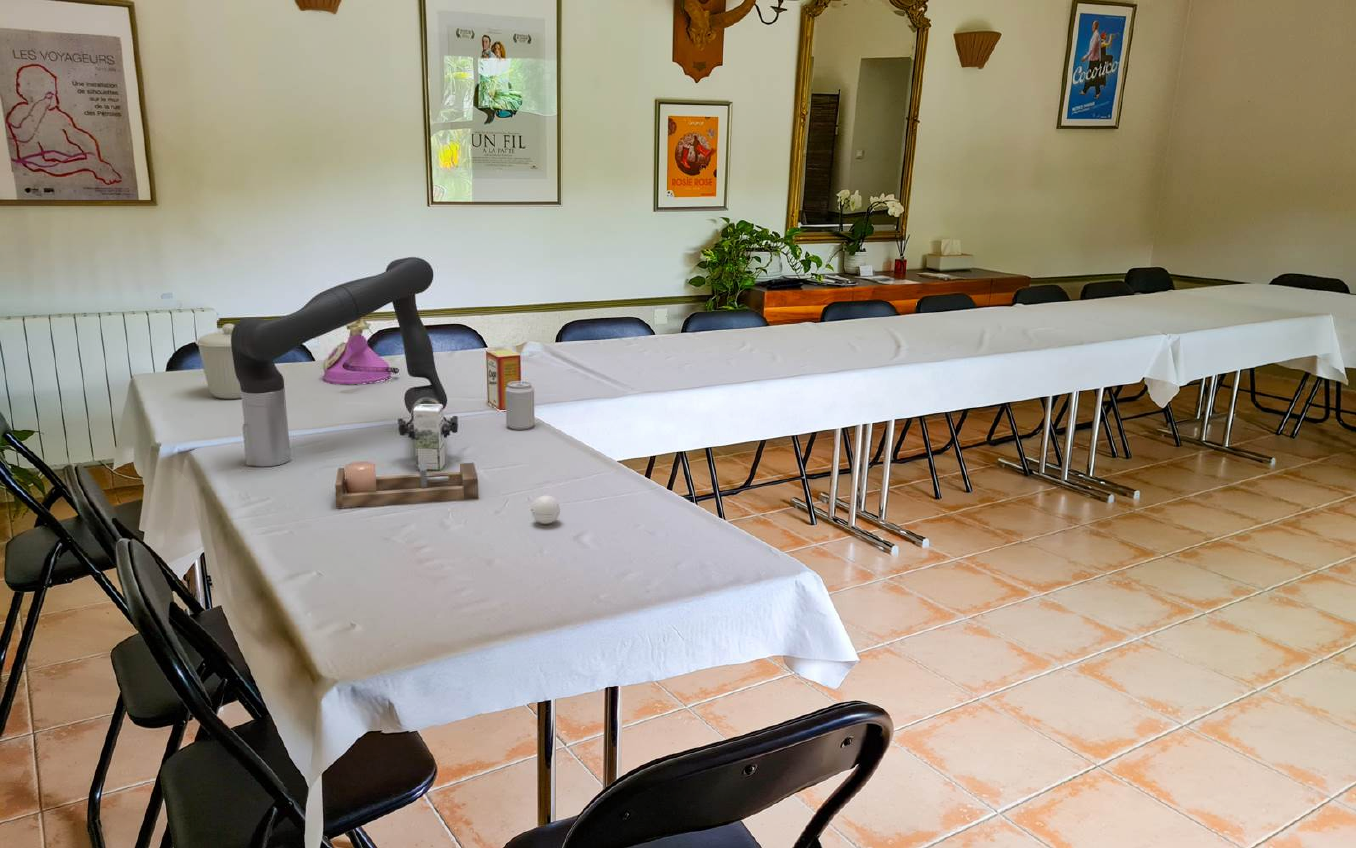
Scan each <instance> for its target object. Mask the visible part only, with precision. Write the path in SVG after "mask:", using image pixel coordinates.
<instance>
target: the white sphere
mask: <svg viewBox="0 0 1356 848" xmlns="http://www.w3.org/2000/svg"><path fill="white" fill-rule="evenodd" d="M530 511H531V517H533V519H534V520H535V521H537V522H538V523H539V524H544V525H549V524H553V523H554V522H555V521H556V520H558V518H559V516H560V514H561V513H560V512H561V506H560V504H559V501H558V500H557V499H556V498H555V497H554V496H550V495H547V494H546V495H541V496H539V497H537V498H536V499H535V500H534V501H533V503H532V505H531V509H530Z"/></svg>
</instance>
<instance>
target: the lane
mask: <svg viewBox="0 0 1356 848" xmlns="http://www.w3.org/2000/svg"><path fill="white" fill-rule="evenodd" d="M459 469H460V470H459V471H452V472H451V471H449V472H436V473H435V472H434V473H426V475H427V477H443V476H449V481H438V482H427V488H424V489H421V477H420V473H418V474H404V475H388V476H376V485H377V492H364V493H349V494H347V490H346V476H345V467H338V469H337V475H336V480H335V485H334V487H335V501H336V509H337V508H338V509H345V508H344V507H352V508H358V507H357V506H366V507H379V506H392V505H394V506H395V505H406V504H421V503H435V502H447V501H448V502H449V501H462V500H463V501H464V500H476V499H477V500H478V499H479V479H478V473H477V470H476V466H475V463H474V462H465V463H464V462H461V463H459ZM342 507H343V508H342Z"/></svg>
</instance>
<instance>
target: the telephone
mask: <svg viewBox="0 0 1356 848" xmlns="http://www.w3.org/2000/svg"><path fill="white" fill-rule="evenodd" d="M370 326H371V323H367V322H366V321H365V319H363V317H362V318H360V319H358V320H356V321H354V322H352V323H350V324H348V325H345V327H346V330H349V336H348V338H347V341H346V342H344V341H342V342H341V343H339V344H338V345H337V346H336V347H334V348H333V349H332V351H331V352H330V353H328V355H327V358H325V359H324V361H323V364H322V369H323V372H324V374H323V376H322V377H323V379H324V380H325V382H326V381H327V382H326V383H328V382H331V383H330V384H332V383H334V384H333V385H336V384H363V383H370V382H377V381H381V380H384V379H386V378H388V379H389V378H391V376H392V375H394V374H395V375H396V374H398V373H399V372H400V369H399V367H391V366H390V364H389V363H388V362H387V361H386V360H385V359H383V358H382V357H381V356H379V355H378V354H377V353H376V352H375V351H374V350H373V349H372V348H371V347H372V345H374V344H375V343H377V341H378V340H379V336H378V334H377V335H375V334H373V332H372V331H371V330H370ZM364 330H365V331H366V330H369V332H370V333H371V334H372V335H373V337H371V339H370V341H368V340H367V338H366V337H365V336H364V335H363V331H364ZM371 341H372V342H371ZM390 375H391V376H390ZM363 385H364V384H363Z"/></svg>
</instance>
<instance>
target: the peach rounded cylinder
mask: <svg viewBox="0 0 1356 848" xmlns="http://www.w3.org/2000/svg"><path fill="white" fill-rule="evenodd" d="M344 470H345V479H346V490H347V492H346V494H349V493H364V492H378V490H377V485H376V477H377V473H376V464H375V462H372V461H371V462H370V461H355V462H351V463H348V464H345V466H344Z"/></svg>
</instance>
